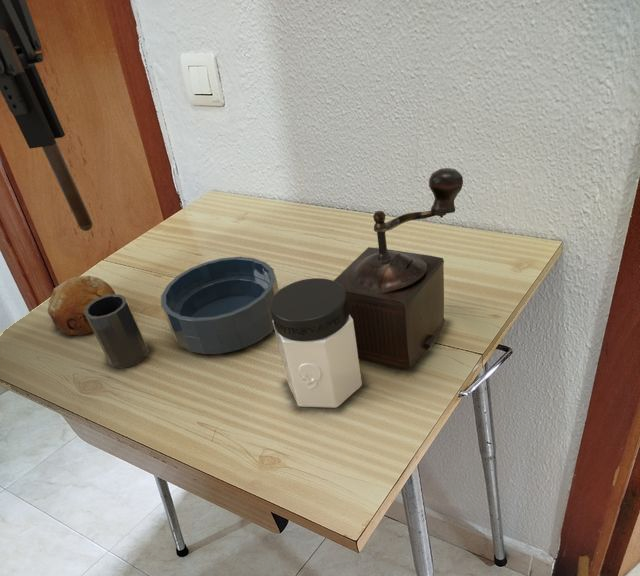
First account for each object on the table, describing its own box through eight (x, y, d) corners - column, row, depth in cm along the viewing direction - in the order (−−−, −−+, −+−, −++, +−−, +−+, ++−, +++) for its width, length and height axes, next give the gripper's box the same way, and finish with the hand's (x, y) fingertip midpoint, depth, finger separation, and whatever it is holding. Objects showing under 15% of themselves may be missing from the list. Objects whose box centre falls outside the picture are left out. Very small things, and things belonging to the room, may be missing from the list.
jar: (279, 408, 68) (256, 321, 59) (296, 363, 73) (276, 278, 65) (356, 410, 65) (342, 321, 57) (367, 364, 71) (356, 276, 63)
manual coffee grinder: (414, 374, 68) (406, 228, 56) (334, 353, 74) (310, 215, 61) (467, 303, 77) (471, 163, 64) (392, 288, 82) (382, 156, 70)
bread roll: (122, 315, 95) (97, 268, 92) (132, 315, 86) (104, 262, 83) (64, 341, 92) (36, 293, 89) (67, 344, 83) (37, 291, 80)
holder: (103, 369, 79) (77, 319, 73) (117, 344, 83) (94, 295, 77) (140, 367, 78) (117, 317, 72) (153, 342, 82) (132, 292, 76)
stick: (79, 234, 68) (-17, 30, 54) (84, 227, 69) (-8, 26, 55) (91, 232, 67) (-2, 27, 54) (97, 226, 69) (7, 23, 55)
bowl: (161, 361, 78) (145, 324, 74) (192, 297, 89) (179, 261, 85) (273, 355, 75) (263, 316, 71) (291, 290, 86) (283, 252, 82)
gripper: (-120, -193, 39) (48, 165, 56) (-9, -188, 49) (106, 113, 66) (-210, -167, 41) (-21, 174, 57) (-84, -167, 51) (46, 122, 67)
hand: (47, 141), depth 61 cm, fingers closed on stick, 1 cm apart
